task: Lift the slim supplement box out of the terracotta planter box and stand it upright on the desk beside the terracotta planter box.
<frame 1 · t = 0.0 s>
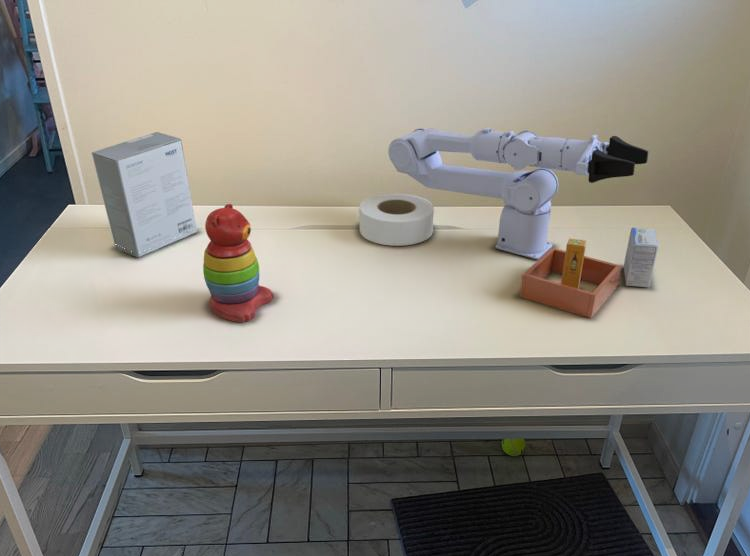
hand: (640, 163, 126), 22 cm above the table, tool horizontal, fingers open, 7 cm apart
supplement box: (568, 292, 132), resting in terracotta planter box
hard drive box: (157, 241, 148), on the table
medicine box: (635, 278, 137), on the table
tape roll: (395, 231, 153), on the table
terracotta planter box: (568, 291, 132), on the table
stacking bear: (238, 305, 127), on the table
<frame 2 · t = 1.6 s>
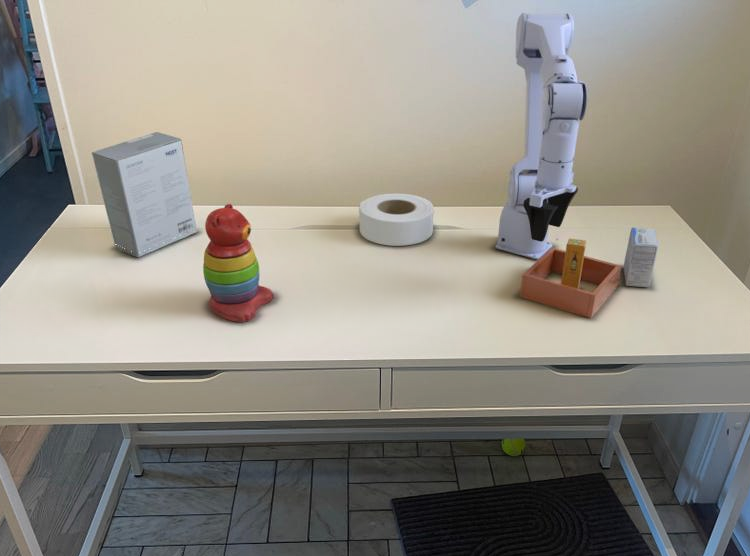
hand: (546, 232, 128), 10 cm above the table, tool pointing down, fingers open, 7 cm apart
nothing on the table moved.
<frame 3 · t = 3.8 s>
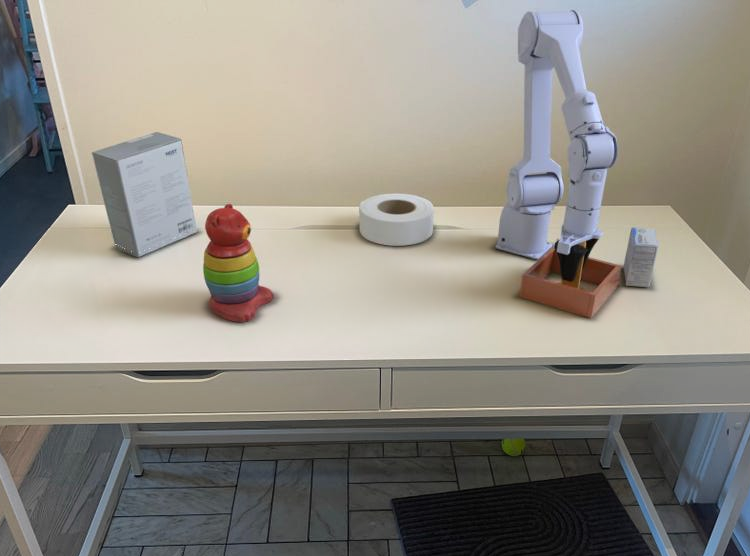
hand: (571, 275, 130), 3 cm above the table, tool pointing down, fingers closed on supplement box, 4 cm apart
supplement box: (568, 292, 132), resting in terracotta planter box, touching gripper
everything else where it was.
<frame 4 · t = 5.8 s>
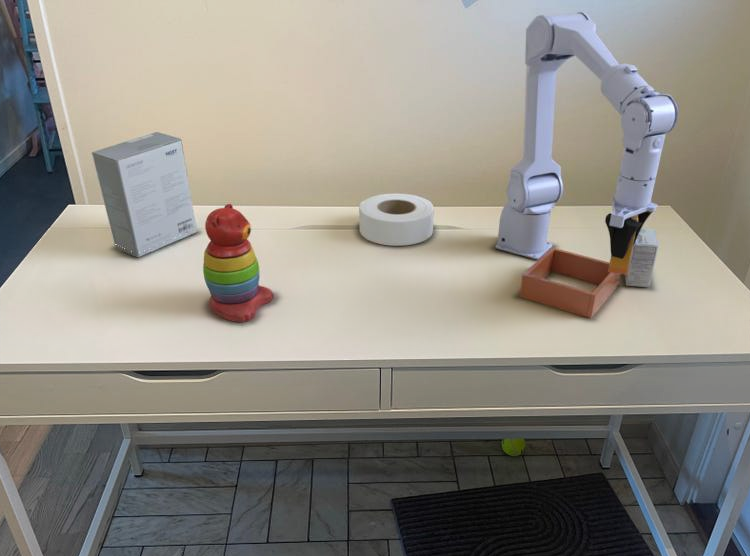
hand: (621, 252, 122), 10 cm above the table, tool pointing down, fingers closed on supplement box, 3 cm apart
supplement box: (617, 270, 124), point 7 cm above the table, touching gripper
everything else where it was.
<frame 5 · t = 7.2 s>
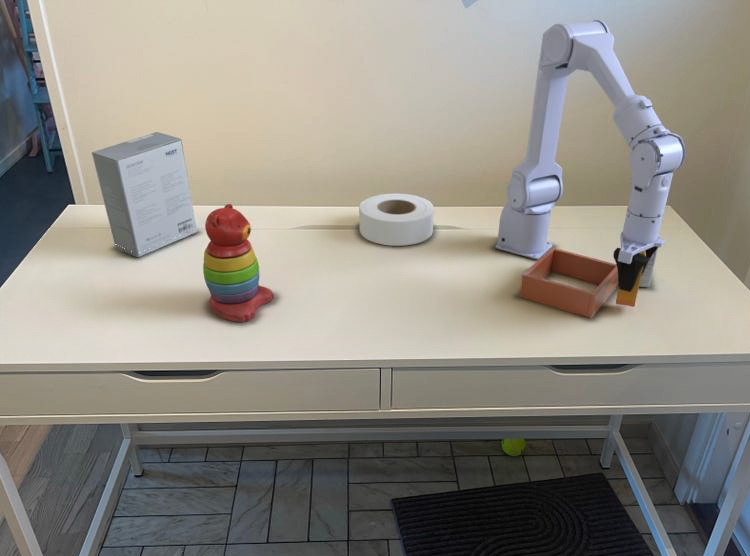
hand: (629, 284, 124), 5 cm above the table, tool pointing down, fingers closed on supplement box, 3 cm apart
supplement box: (625, 302, 126), point 1 cm above the table, touching gripper
everything else where it was.
when the fingers open (3 cm above the table, at t = 8.1 s): supplement box stays where it is, on the table.
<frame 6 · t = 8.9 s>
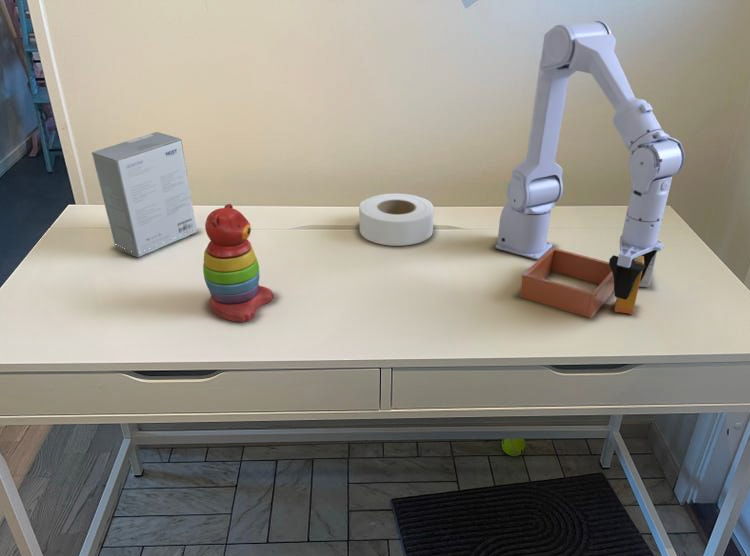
hand: (628, 288, 125), 4 cm above the table, tool pointing down, fingers open, 7 cm apart
supplement box: (623, 310, 127), on the table
everything else where it was.
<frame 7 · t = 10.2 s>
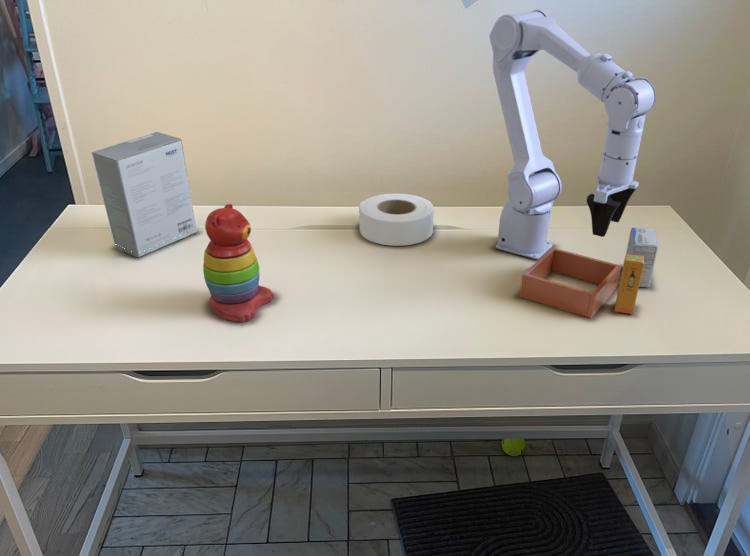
hand: (606, 227, 131), 10 cm above the table, tool pointing down, fingers open, 7 cm apart
nothing on the table moved.
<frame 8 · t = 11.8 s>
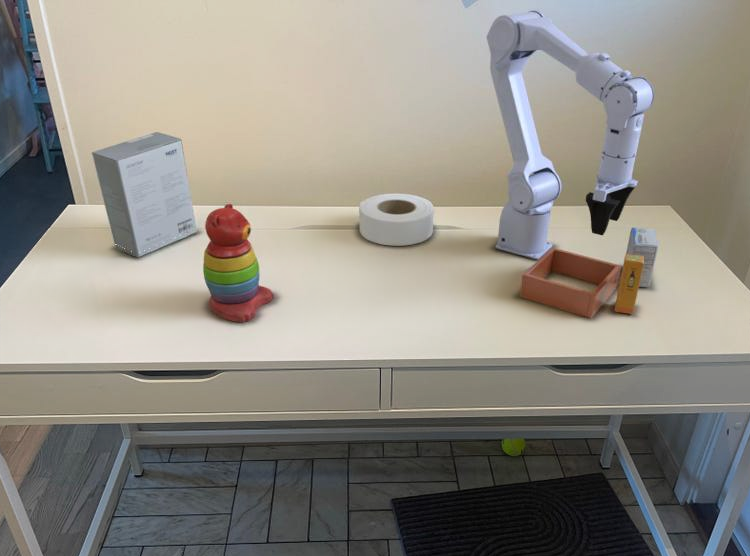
hand: (605, 226, 131), 10 cm above the table, tool pointing down, fingers open, 7 cm apart
nothing on the table moved.
at the end: supplement box inside the target area (0.6 cm from its centre), on the table; supplement box tilted 0°; the gripper is holding nothing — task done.
